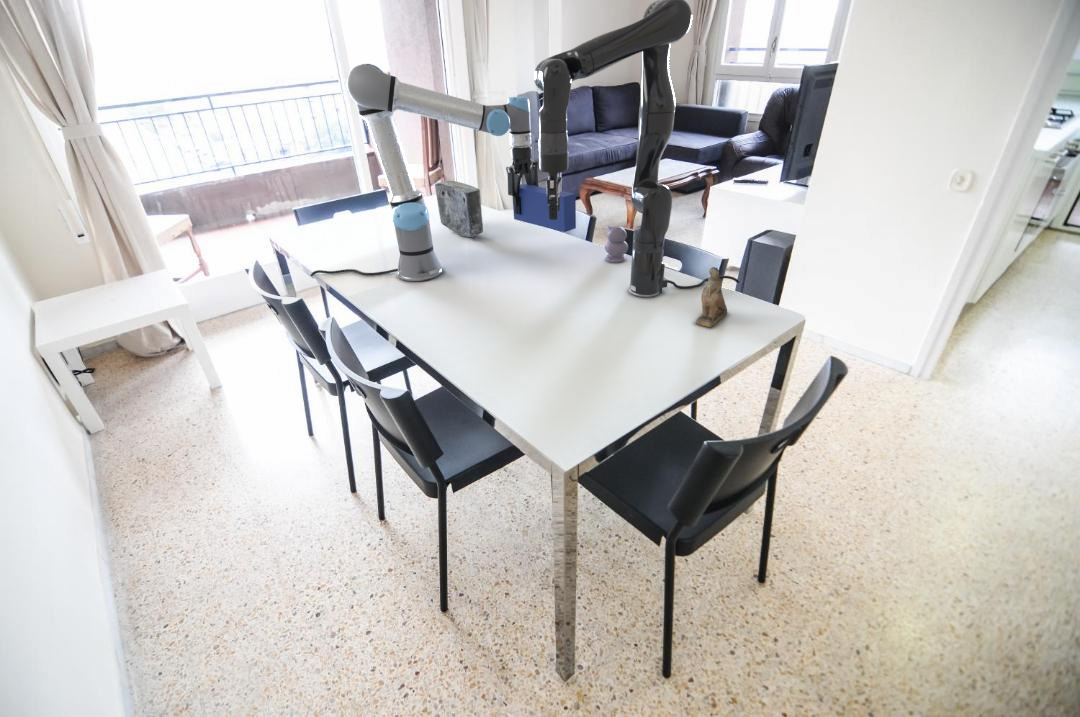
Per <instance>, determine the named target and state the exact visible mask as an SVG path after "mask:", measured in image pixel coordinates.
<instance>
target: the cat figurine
mask: <svg viewBox="0 0 1080 717" xmlns="http://www.w3.org/2000/svg"><path fill="white" fill-rule="evenodd" d="M606 228H607V229H606V230H607V234H606V237H607V241H606V243H605V244H604V250H605V252H606V253H607V255H606V262H609V263H613V264H615V263H616V264H617V263H622V262H624V261H625V254H626V253H627V252H628V250H629V244H628V243H627V242H626V239H627V237H628V234H627V231H626V230H625V229H624V228H623V227H622V226H609V225H606Z"/></svg>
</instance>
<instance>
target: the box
mask: <svg viewBox="0 0 1080 717" xmlns="http://www.w3.org/2000/svg"><path fill="white" fill-rule="evenodd" d="M538 186H539V185H538ZM538 186H532V185H527V183H520V190H519V196H520V198H521V215H519V214H515V205H514V204H513V203H512V209H513V220H515V221H520V222H523V223H526V224H527V223H528V224H531V225H535V226H538V227H542V228H546V229H551V230H555V231H558V232H562V233H567V232H569V231H573V230H575V229H576V228H577V221H576V220H577V206H576V205H577V204H576V203H577V201H576V200H577V199H576V198H577V196H576V192H571V191H564V190H561V192H560V193H561V195H560V210H559V211H558V218H557V220H550V219H549V205H548V204H547V187H543V186H539V187H538ZM515 193H516V192H515ZM511 197H512V198H513V196H511ZM550 200H552V197H551V198H550Z"/></svg>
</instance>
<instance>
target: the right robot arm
mask: <svg viewBox="0 0 1080 717" xmlns="http://www.w3.org/2000/svg"><path fill="white" fill-rule="evenodd" d="M692 12H693V11H692V7H691V6H690V4H689V3H688V2H687V1H686V0H654V1H652V2H651V3H650V4H649V5H648V6H647V7H646V9H645V11H644V13H643V16H642V19H639V20H637V21H635V22H633V23H631V24H628V25H625V26H623V27H620V28H617V29H614V30H610V31H608V32H604V33H602V34H600V35H596V36H595V37H593V38H590V39H588V40H586V41H585V42H582V43H580V44H578V45H577V46H575V47H573V48H571V49H569V50H566V51H563V52H560V53H557V54H554V55H552V56H549V57H547V58H544V59H543V60H541V61H540V62H539V63H538V64H537V65H536V67H535V69H534V72H533V82H534V84H535V86H536V87H537V88H538V89H539V90H540V91H541V92H543V93H542V106H540V108H539V110H538V167H539V168H538V169H539V171H541V172H542V173H547V174H548V176H547V177H546V178H545V186H546V188H547V204H548V205H549V219H550V220H557V218H558V211H559V210H560V195H561V193H560V192H561V191H563V190H562V188H563V185H562V184H563V177H562V175H561V174H562V173H563V172H566V171H568V170H569V135H568V109H569V108H568V107H569V103H570V96H571V92H572V91H571V89H572V82H574V81H577V80H583V79H586V78H589V77H591V76H594V75H596V74H598V73H600V72H601V71H604V70H606V69H608V68H611V67H612V66H614V65H617V64H618V63H620V62H622V61H624V60H627V59H629V58H630V57H633V56H635V55H637V54H639V53H641V63H642V64H641V79H640V80H641V81H640V82H641V83H640V98H639V99H640V101H639V108H638V110H639V111H638V125H637V127H638V129H637V142H636V143H637V144H636V145H637V146H636V157H635V158H636V160H635V168H634V173H633V174H634V175H633V179H632V180H633V181H632V186H631V192H630V194H631V195H630V201H631V202H630V203H631V205H632V207H633V209H634V210H635V211H637V212H638V213H640V214H642V215H641V222H640V225H637V226H636V227H635V228H634V229H633V236H632V251H631V264H630V265H631V266H630V281H629V293H630V294H631V295H633V296H635V297H639V298H653V297H656V296H658V295H659V294H663V289H665V288H668V284H671V285H673V287H674V288H676V289H680V290H681V289H682V290H689V289H695V288H700V287H702V286H703V285H704V284H705V283H706V282H708V279H709V278H710V277H706V278H704V279H702V281H701V282H700V283H697V284H693V285H678V284H677V283H676V282H674V281H673V280H670V279H668V278H666V277H665V269H666V267H665V266H666V264H665V263H664V262H663V261H664V250H665V240H666V234H667V233H668V230H669V227H670V222H671V215H672V208H673V194H672V191H671V189H670V188H669V187H668V186H667V185H664V184H662V183H659V170H660V162H661V158H662V156H663V154H664V151H665V149H666V148H667V146H668V144H669V142H670V140H671V137H672V135H673V131H674V125H675V112H676V97H675V92H674V88H673V84H672V80H671V76H670V69H669V68H670V67H669V60H670V58H669V57H670V48H671V44H674V43H677V42H679V41H681V40H682V39H683V38H684V37H685V36H686V35H687V34H688V32H689V31H690V28H691V25H692V20H693V13H692ZM551 197H552V200H550V198H551ZM719 278H720V279H721V280H722V279H729V280H732V281H735V283H736V284H740V283H741V282H740V280H739V279H738V278H736V277H734V276H731V275H719Z"/></svg>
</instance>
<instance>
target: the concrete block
mask: <svg viewBox="0 0 1080 717" xmlns="http://www.w3.org/2000/svg"><path fill="white" fill-rule="evenodd" d="M434 187H435V195H436V201H437V208H438V214H439V219H440V224H441V225H443V227H445V228H448V229H449V230H450V231H452V232H454V233H456V234H457V235H459V236H462V237H464V238H465V237H466V238H472V237H475V236H477V235H480V234H483V233H484V224H483V223H484V222H483V211H482V201H481V200H482V199H481V190H480V189H479V188H478V187H475V186H473V185H470V184H467V183H465V182H464V183H463V182H461V181H460V182H459V181H455V180H444V181H439V182H436V183H435V184H434Z"/></svg>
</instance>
